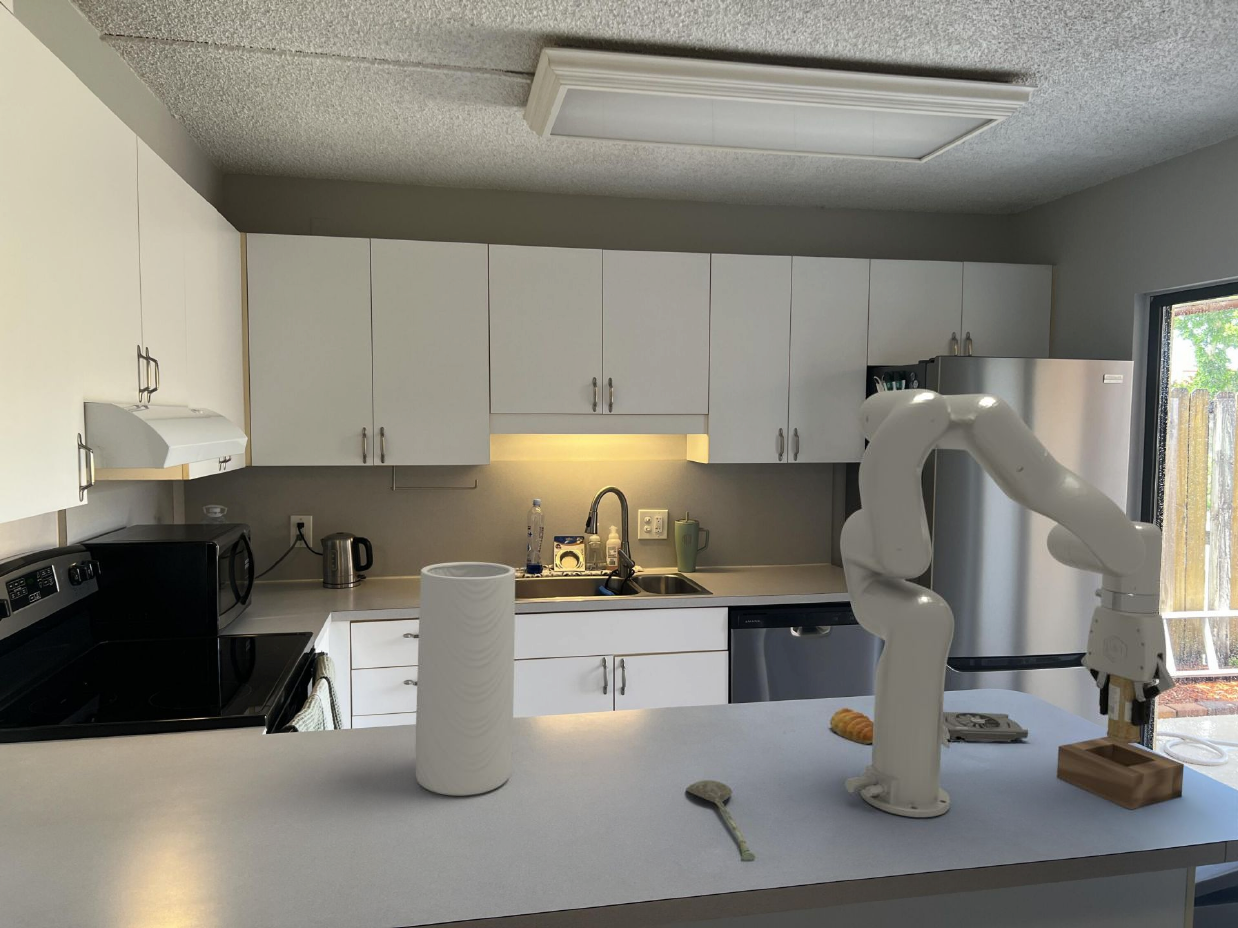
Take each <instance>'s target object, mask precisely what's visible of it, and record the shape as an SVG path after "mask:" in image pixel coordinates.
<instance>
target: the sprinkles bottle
mask: <svg viewBox="0 0 1238 928" xmlns="http://www.w3.org/2000/svg"><path fill="white" fill-rule="evenodd" d="M1134 699H1136V692H1135V686H1134V681H1131V680H1128V679H1124V678H1121V677H1117V676H1114V675H1110V682H1109V700H1108V715H1107V716H1108V717H1107V721H1108V722H1107V731H1106V737H1109V738H1111V739H1112V740H1115V741H1118V742H1122V743H1128V744H1137V743H1139V742H1141V737H1140V736H1141V735H1140V731H1141V730H1140V729H1141V726H1133V725H1132V724H1131V716H1132V701H1133V700H1134Z"/></svg>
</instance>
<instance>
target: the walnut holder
mask: <svg viewBox="0 0 1238 928" xmlns="http://www.w3.org/2000/svg"><path fill="white" fill-rule="evenodd" d="M1056 765H1057V770H1056V778H1058V779H1059V780H1062V781H1065V782H1067V783H1068V784H1069V783H1070V784H1071V785H1074V786H1076V787H1078V788H1081V789H1083V790H1085V791H1087V792H1090V793H1092V794H1094V795H1096V796H1098V797H1101V798H1102V799H1104V800H1105V799H1106V800H1107V801H1110V802H1113V803H1115V804H1117V805H1118V806H1121V807H1124V808H1126V809H1128V810H1130V811H1131V810H1135V809H1139V808H1141V807H1142V808H1143V807H1146V806H1151V805H1154V804H1158V803H1162V802H1165V801H1169V800H1174V799H1177V798H1181V797H1182V796H1183V795H1182V794H1183V782H1184V781H1183V780H1184V767H1185V763H1182V762H1180V761H1176V760H1173V759H1171V758H1168V757H1166V756H1163V755H1160V754H1158V753H1154V752H1152V751H1150V750H1146V749H1145V748H1144V749H1143V748H1141V747H1139V746H1136V745H1133V744H1132V743H1122V742H1118V741H1115V740H1112V739H1111V738H1109V737H1108V736H1104V737H1098V738H1094V739H1093V738H1092V739H1089V740H1083V741H1077V742H1074V743H1073V742H1071V743H1068V744H1062V745H1059V746H1058V749H1057V764H1056Z"/></svg>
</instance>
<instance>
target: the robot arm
mask: <svg viewBox="0 0 1238 928" xmlns="http://www.w3.org/2000/svg"><path fill="white" fill-rule="evenodd" d="M857 425H858V428H859V430H860V432H861V434H862V435H863V437H864V438H865V439H866V440H867V441H868V444H867V446H866V449H865V450H864V452H863V455H862V458H861V460H860V465H859V471H858V487H859V495H860V496H859V497H860V503H861V504H860V505H861V509H859V510H856V511H855V512H853V513H852V514H851V515H850V516H849V517H848V518H846V521H845V522H844V524H843V527H842V529H841V534H840V539H839V540H840V541H839V544H840V545H839V547H840V549H839V550H840V555H841V559H842V567H843V573H844V577H845V583H846V588H847V591H848V592H847V593H848V598H849V601H850V602H849V603H850V605H851V609H852V612H853V615H854V617H855V619H856V621H857V622H858V624H859V625H860V626H861V627H862V628H863V629H864V630H866V631H867V632H868V633H870V634H873V635H874V636H876V637H878V638H881V640H883V641H884V647H883V649H882V652H881V654H880V657H879V660H878V662H877V666H876V671H875V681H874V703H873V704H874V706H873V707H874V708H873V722H874V724H873V742H872V747H871V748H872V750H871V752H872V754H871V764H870V765H866V766H865V773H862V775H860V777H859V776H854V777H850V778H846V780H845V783H844V786H845V789H846V791H847V792H849V794H850V793H858V792H859V793H860V796H861V797H862V798H863V800H864V801H866V802H867V803H868V804H870V805H872V806H873V807H875V808H876V809H879V810H881V811H885V812H886V813H889V814H894V815H899V816H903V817H911V818H932V817H937V816H940V815H943V814H945V813H946V812H947V811H949V809H950V807H951V806H950V805H951V798H950V795H949V794H948V792H947V791H945V790H944V789H943V787H941V786H940V776H941V760H942V759H941V758H942V757H941V756H942V755H941V754H942V742H941V741H942V721H943V712H944V699H945V698H944V695H945V682H946V681H945V680H946V671H947V664H948V663H947V662H948V659H949V658H948V657H949V653H950V649H951V647H952V642H953V638H954V632H955V618H954V615H953V612H952V609H951V607H950V605H949V604H948V602H947V601H946V600H945V599H944V598H943V597H942V596H941V595H940V594H938V593H936V592H935V591H933V590H931V589H930V588H927V587H924V586H923V585H919V584H917V583H914V582H910V581H907V580H909V579H911V580H912V579H915V578H918V577H919V576H921V575H923V574H924V573H925V572H926V571H927V570H928V568H929V567H930V564H931V562H932V561H931V560H932V556H933V555H932V554H933V553H932V551H933V550H932V549H933V548H932V540H931V535H930V529H929V525H928V524H929V523H928V519H927V514H926V508H925V503H924V498H923V487H922V472H923V469H924V465H925V462H926V460H927V458H928V457H929V456H930V454H931V452H932V450H934V449H935V450H936V449H938V450H957V451H958V450H960V451H966V452H968V453H969V454H970V456H972V458H973V459H974V460H975V461H976V462H977V464H979V466H980V467H981V468H982V469H983V470H984V471H985V473H986V474H987V475H988V476H989V477H990V479H992V480H993V482H994V483H995V484H996V486H998V488H999V489H1000V490H1001V491H1002V492H1003V494H1005V496H1006V497H1007V498H1008V499H1010V500H1012V501H1014V502H1015V503H1016V504H1019V505H1020V506H1021V507H1024V508H1025V509H1027V510H1029V511H1032V512H1034V513H1037V514H1039V515H1041V516H1044V517H1046V518H1048V519H1050V520H1051V521H1054V522H1055V523H1057V524H1055V525H1054V526H1053V527H1052V528H1051V529H1050V531H1049V532H1048V534H1047V539H1046V546H1047V551H1048V552H1049V554H1050V555H1051V556H1052V558H1053V559H1054V560H1055V561H1056V562H1058V563H1060V564H1061V565H1065V566H1067V567H1069V568H1073V569H1078V570H1081V571H1085V572H1092V573H1096V574H1100V575H1102V578H1101V581H1102V582H1101V588H1096V589H1095V591H1094V592H1095V597H1097V598H1100V605H1097V606H1095V609H1094V611H1093V614H1092V617H1091V622H1090V625H1089V631H1088V636H1087V644H1086V645H1087V646H1086V653H1085V655H1083V657H1082V658H1081V660H1080V662H1081V664H1082V666H1083V667H1085V669H1087V671H1089V673H1090V675H1091V677H1092V679H1094V681H1095V686H1096V688H1098V689H1099V700H1098V705H1099V715H1101V716H1108V700H1109V682H1110V675H1114V676H1117V677H1121V678H1124V679H1128V680H1131V681H1134V686H1135V692H1136V699H1134V700H1133V701H1132V716H1131V724H1132V725H1133V726H1140V727H1141V726H1146V725H1148V724H1149V721H1150V719H1151V713H1152V712H1151V711H1152V709H1151V708H1152V700H1155V699H1156V697H1158V696H1159V695H1161V694H1162V693H1165V692H1167V691H1169V690H1170V691H1171V690H1172V689H1175V688H1176V683H1175V681H1174V680H1173V677H1172V676H1171V674H1170V672H1169V671H1168V668H1167V641H1166V640H1167V639H1166V633H1165V632H1166V631H1165V630H1166V629H1165V625H1164V624H1165V623H1164V621H1163V616H1162V615H1161V614H1159V601H1160V600H1159V599H1160V582H1161V581H1160V580H1161V579H1160V577H1161V563H1162V562H1161V561H1162V542H1163V541H1162V539H1163V538H1162V537H1163V534H1162V531H1161V529H1160V527H1159V526H1158V525H1156V524H1153V523H1151V522H1145V521H1144V522H1142V521H1135V520H1133V521H1132V520H1131V519H1130V518H1129V516H1127V514H1126V513H1125V512H1124V511H1123V510H1122V508H1121V507H1120V506H1119V505H1118V504H1117V503H1116V502H1115V501H1114V500H1112V499H1111V498H1110V497H1109V496H1108V495H1107V494H1105V493H1104V492H1102V491H1101V490H1100V489H1098V488H1097V487H1095V486H1093V485H1092V484H1090V483H1089V482H1088V481H1086V480H1085V479H1083V477H1081V476H1079V475H1078V474H1076V473H1075V471H1072V470H1071V469H1069V468H1067V467H1066V466H1064V465H1062V463H1060V462H1059V461H1057V459H1056V458H1055V457H1054V456H1053V455H1052V454H1051V453H1050V452H1049V450H1048V449H1047V448H1046V446H1044V445H1043V443H1042V442H1041V441H1040V439H1039V438H1037V436H1036V435H1035V434H1034V433H1033V431H1032V430H1031V429H1030V428H1029V426H1028V425H1027V424H1026V423H1025V422H1024V420H1023V419H1022V418H1021V417H1020V416H1019V414H1018V413H1017V412H1016V410H1014V408H1012V406H1011V405H1010V404H1009V403H1008V402H1007V401H1006V400H1004V399H1003V398H1002V397H1000V396H998V395H994V394H991V393H969V394H968V393H966V394H945V395H944V394H940V393H939V392H936V391H934V390H930V389H925V388H909V389H900V390H899V389H898V390H884V391H879V392H875V393H874V394H872V395H870V396H869V397H868V398H866V400H864V402H863V403H862V404H861V406H860V408H859V411H858V414H857ZM1154 680H1157V681H1158V683H1156V684H1154Z"/></svg>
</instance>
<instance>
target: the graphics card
mask: <svg viewBox="0 0 1238 928" xmlns="http://www.w3.org/2000/svg"><path fill="white" fill-rule="evenodd" d="M1028 733H1029V730H1028V729H1023V728H1022V726H1021V725H1020V724H1019V723H1018V722H1016V721H1014V720H1013V719H1011V718H1010V717H1009V714H1006V713H992V712H991V713H990V712H989V713H988V712H985V713H984V712H961V711H960V712H957V711H955V712H953V711H943V721H942V741H941V744H944V746H945V747H946V748H948V749H949V748H950V743H949V742H948V740H950V742H952V741H955V742H956V741H957V742H959V741H960V742H961V743H963V744H964V743H966V742H993V741H1006V742H1005V743H1010V742H1011V740H1012V741H1015V740H1016V739H1027V738H1028V735H1029V734H1028ZM957 737H960V738H958V739H957ZM950 738H951V739H950ZM962 738H963V739H964V740H963V739H962ZM953 739H955V740H953ZM1007 741H1008V742H1007ZM1009 741H1010V742H1009ZM960 742H959V743H960Z"/></svg>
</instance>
